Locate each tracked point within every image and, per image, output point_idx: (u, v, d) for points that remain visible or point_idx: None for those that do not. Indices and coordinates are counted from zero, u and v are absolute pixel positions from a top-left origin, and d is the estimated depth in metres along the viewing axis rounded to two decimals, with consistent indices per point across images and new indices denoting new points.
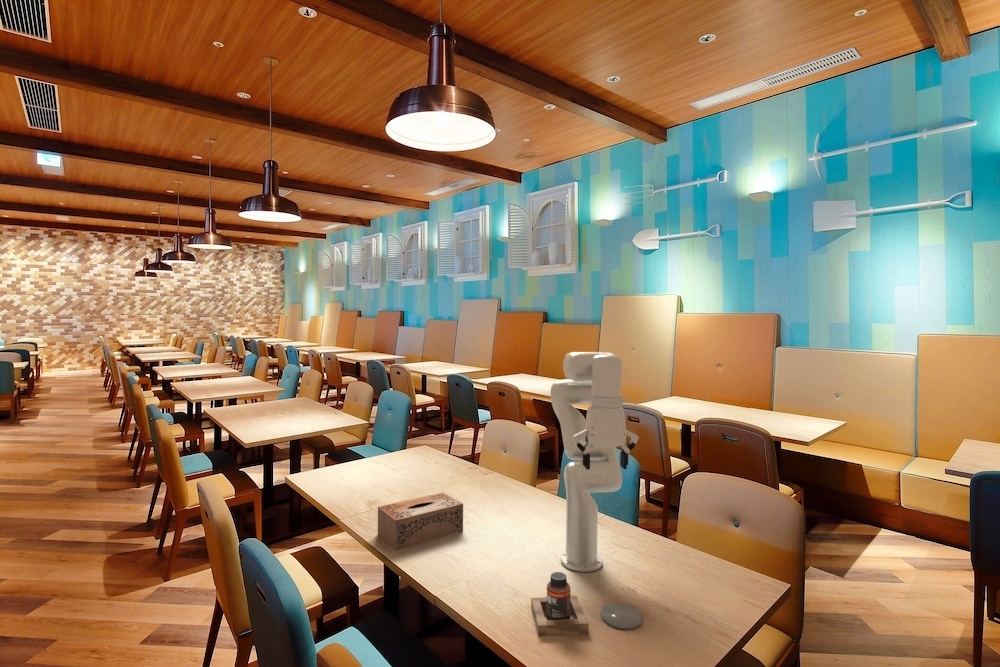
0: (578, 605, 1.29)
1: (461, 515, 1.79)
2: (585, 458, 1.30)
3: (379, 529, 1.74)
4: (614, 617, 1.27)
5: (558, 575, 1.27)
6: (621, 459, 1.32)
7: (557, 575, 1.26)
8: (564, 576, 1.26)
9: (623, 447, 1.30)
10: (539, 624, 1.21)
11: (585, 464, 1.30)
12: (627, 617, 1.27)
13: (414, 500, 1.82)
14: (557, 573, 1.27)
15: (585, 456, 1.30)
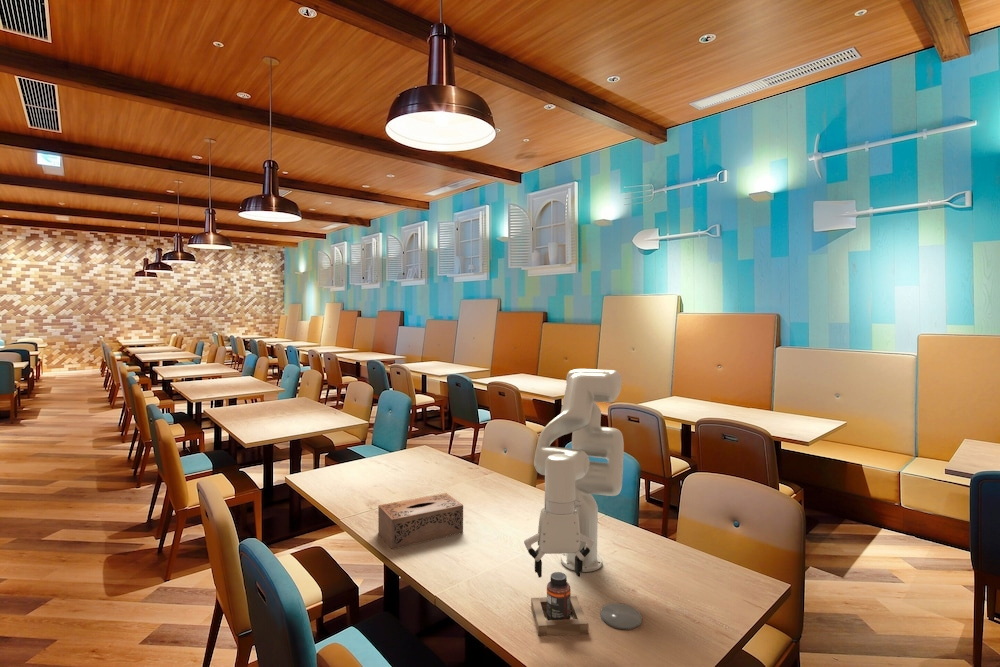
0: (578, 605, 1.29)
1: (461, 517, 1.77)
2: (537, 565, 1.24)
3: (379, 527, 1.76)
4: (614, 617, 1.27)
5: (558, 575, 1.27)
6: (575, 565, 1.26)
7: (557, 575, 1.26)
8: (564, 576, 1.26)
9: (577, 553, 1.25)
10: (539, 624, 1.21)
11: (537, 571, 1.24)
12: (627, 617, 1.27)
13: (415, 500, 1.82)
14: (557, 573, 1.27)
15: (537, 563, 1.24)
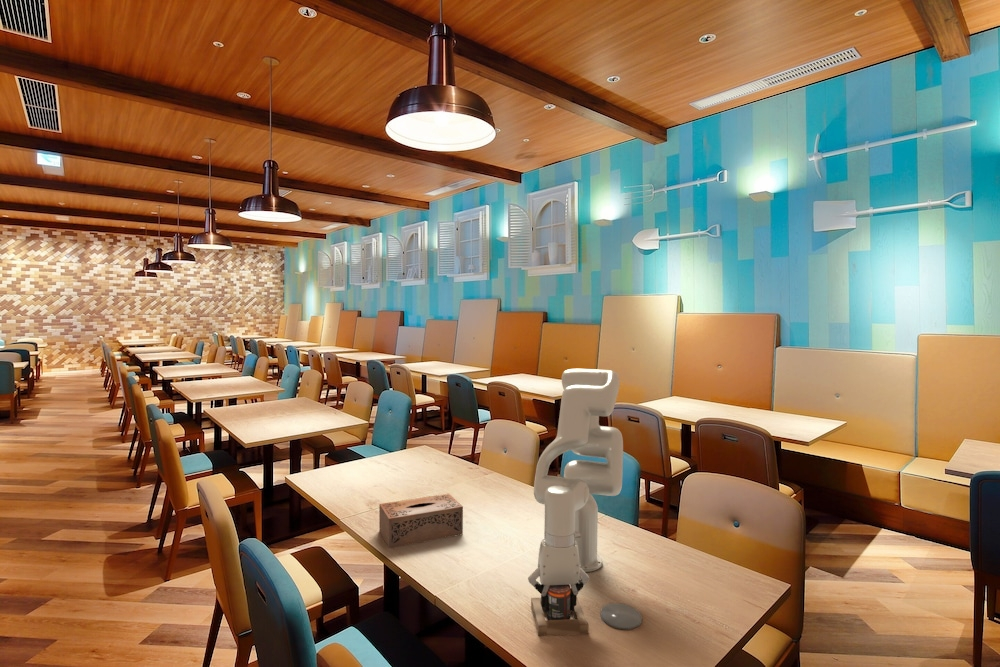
0: (578, 605, 1.29)
1: (460, 518, 1.76)
2: (543, 599, 1.25)
3: (380, 526, 1.77)
4: (614, 617, 1.27)
5: None
6: None
7: None
8: None
9: (572, 587, 1.25)
10: (539, 624, 1.21)
11: (543, 606, 1.25)
12: (627, 617, 1.27)
13: (417, 500, 1.82)
14: None
15: (543, 597, 1.25)
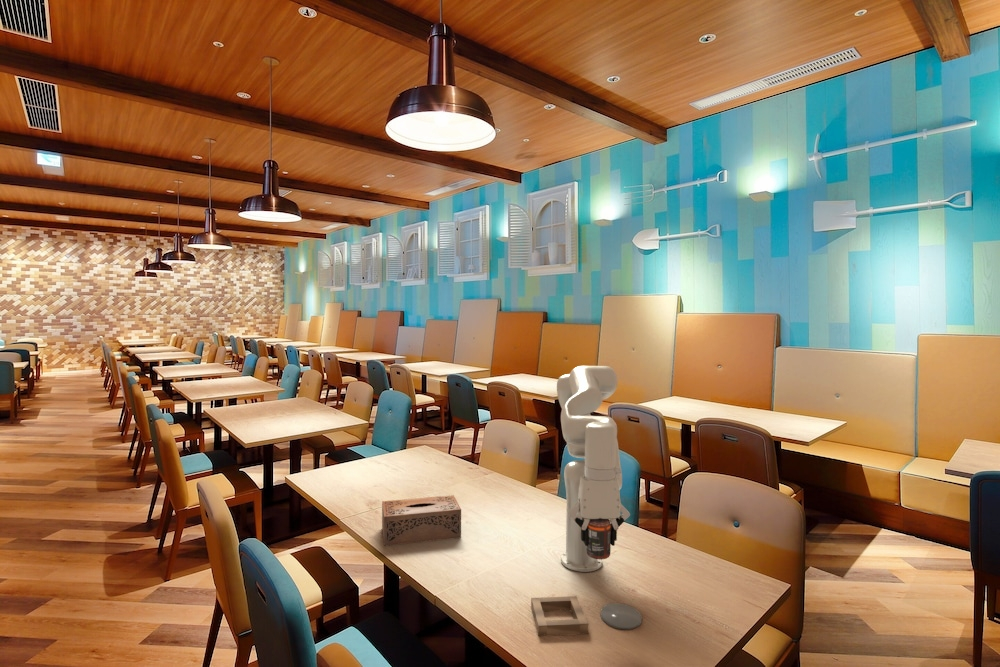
0: (578, 605, 1.29)
1: (459, 521, 1.73)
2: (583, 533, 1.26)
3: (382, 523, 1.79)
4: (614, 617, 1.27)
5: None
6: None
7: None
8: None
9: (613, 522, 1.26)
10: (539, 624, 1.21)
11: (583, 539, 1.26)
12: (627, 617, 1.27)
13: (419, 499, 1.82)
14: None
15: (583, 531, 1.26)
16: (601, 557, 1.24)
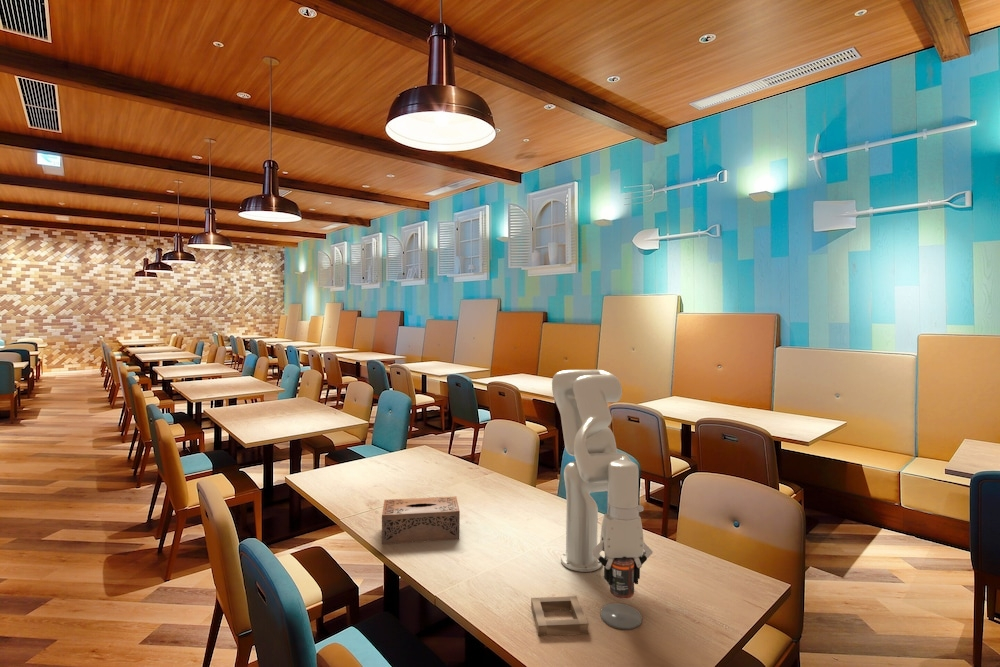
0: (578, 605, 1.29)
1: (457, 523, 1.72)
2: (607, 572, 1.26)
3: None
4: (614, 617, 1.27)
5: None
6: None
7: None
8: None
9: (636, 560, 1.26)
10: (539, 624, 1.21)
11: (607, 579, 1.26)
12: (627, 617, 1.27)
13: (421, 499, 1.82)
14: None
15: (607, 570, 1.26)
16: (626, 596, 1.25)
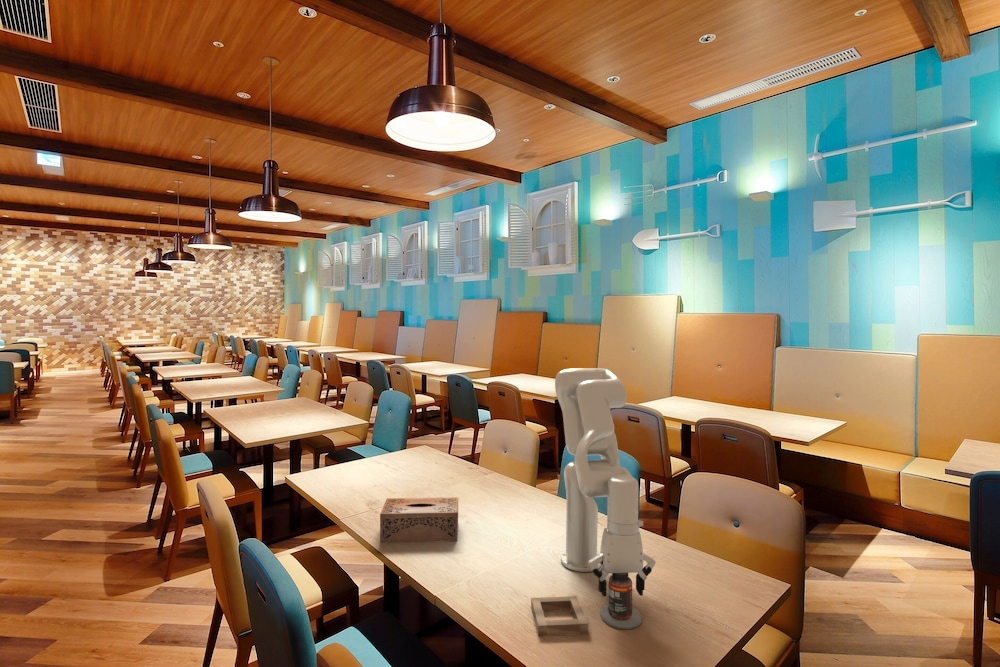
0: (578, 605, 1.29)
1: (455, 524, 1.71)
2: (601, 584, 1.26)
3: None
4: None
5: None
6: (637, 583, 1.28)
7: None
8: None
9: (639, 573, 1.27)
10: (539, 624, 1.21)
11: (601, 590, 1.27)
12: None
13: (423, 499, 1.82)
14: None
15: (601, 582, 1.26)
16: (624, 617, 1.25)
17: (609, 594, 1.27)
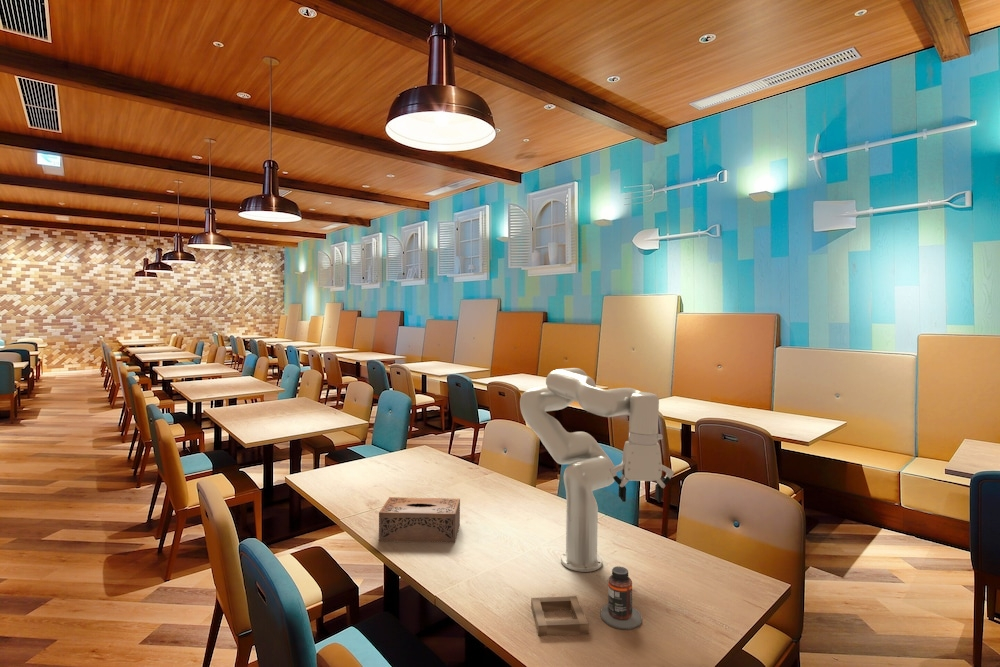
0: (578, 605, 1.29)
1: (453, 525, 1.70)
2: (621, 490, 1.37)
3: None
4: None
5: (620, 569, 1.28)
6: (656, 492, 1.39)
7: (619, 570, 1.28)
8: (626, 570, 1.27)
9: (658, 481, 1.37)
10: (539, 624, 1.21)
11: (621, 496, 1.37)
12: None
13: (424, 499, 1.82)
14: (618, 567, 1.29)
15: (621, 488, 1.37)
16: (624, 617, 1.25)
17: (609, 594, 1.27)
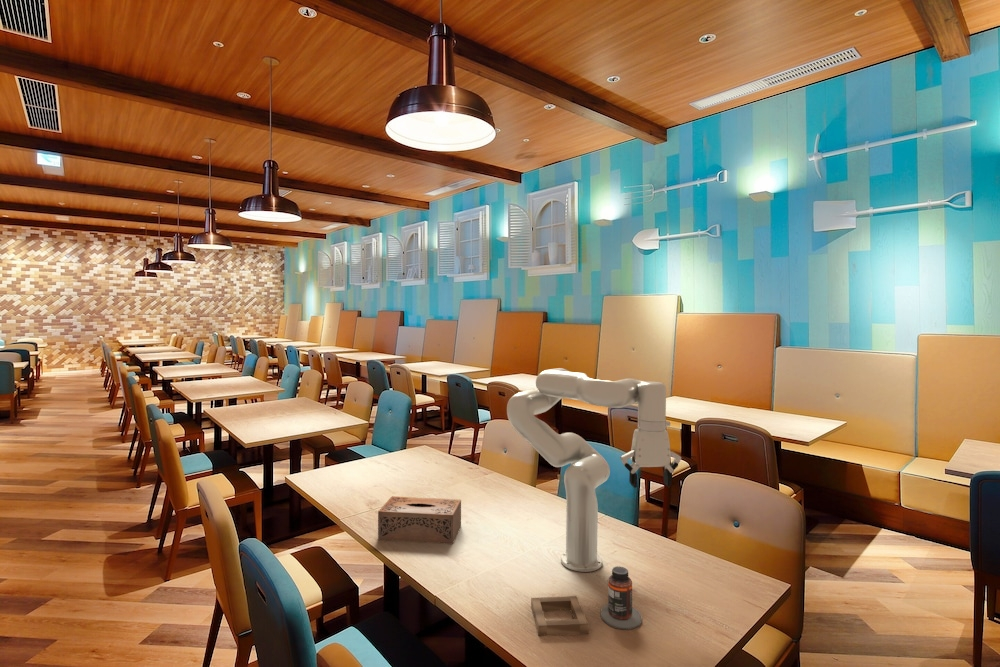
0: (578, 605, 1.29)
1: (450, 527, 1.69)
2: (632, 477, 1.42)
3: None
4: None
5: (620, 569, 1.28)
6: (665, 477, 1.44)
7: (619, 570, 1.28)
8: (626, 570, 1.27)
9: (667, 467, 1.42)
10: (539, 624, 1.21)
11: (632, 482, 1.42)
12: None
13: (425, 499, 1.82)
14: (618, 567, 1.29)
15: (632, 475, 1.42)
16: (624, 617, 1.25)
17: (609, 594, 1.27)
